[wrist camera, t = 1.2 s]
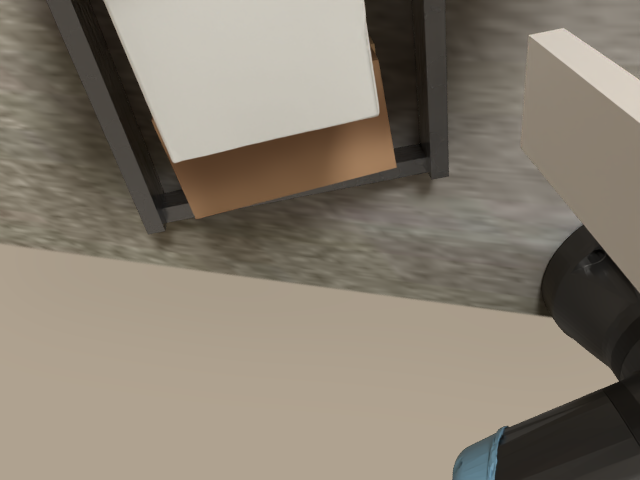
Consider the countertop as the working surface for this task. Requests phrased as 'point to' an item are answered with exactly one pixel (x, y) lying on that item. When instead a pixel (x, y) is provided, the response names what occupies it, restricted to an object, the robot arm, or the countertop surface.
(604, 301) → the robot arm
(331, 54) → the supplement box
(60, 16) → the stand
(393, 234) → the countertop surface
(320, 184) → the offcut upper
